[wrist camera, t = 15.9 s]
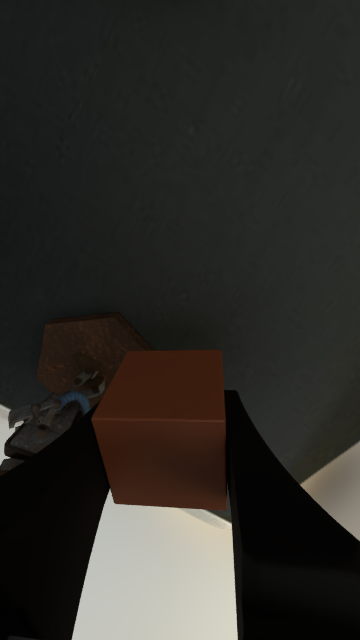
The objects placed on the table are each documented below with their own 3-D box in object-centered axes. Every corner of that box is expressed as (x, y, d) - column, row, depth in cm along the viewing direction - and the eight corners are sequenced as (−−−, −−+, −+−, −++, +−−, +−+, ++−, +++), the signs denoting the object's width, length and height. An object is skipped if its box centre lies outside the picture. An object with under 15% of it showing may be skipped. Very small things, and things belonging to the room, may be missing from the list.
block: (140, 421, 15) (113, 505, 11) (127, 350, 13) (89, 418, 9) (223, 422, 14) (227, 512, 10) (221, 348, 12) (226, 420, 8)
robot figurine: (59, 284, 20) (-129, 389, 9) (177, 331, 20) (137, 485, 9) (38, 394, 24) (-103, 551, 14) (135, 430, 25) (74, 610, 14)
